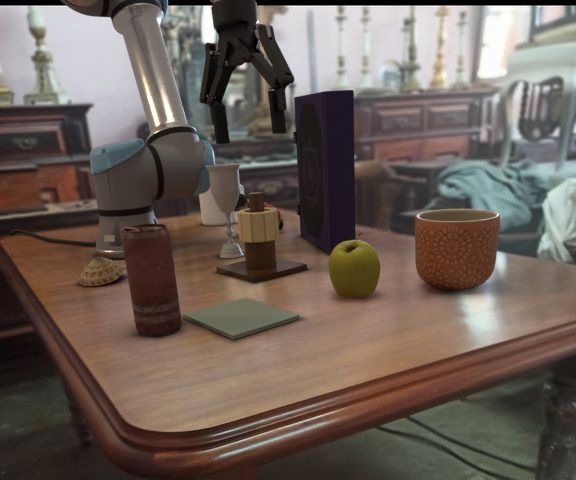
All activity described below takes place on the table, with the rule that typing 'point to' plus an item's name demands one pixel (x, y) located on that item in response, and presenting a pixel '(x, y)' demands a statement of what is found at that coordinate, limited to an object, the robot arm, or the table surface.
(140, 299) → the can
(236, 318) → the mat
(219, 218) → the mug
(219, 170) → the chalice
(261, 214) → the tape roll
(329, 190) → the book
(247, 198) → the figurine
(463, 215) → the planter
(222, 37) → the robot arm
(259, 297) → the table surface
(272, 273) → the stand
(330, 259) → the apple
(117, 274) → the seashell
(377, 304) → the table surface
